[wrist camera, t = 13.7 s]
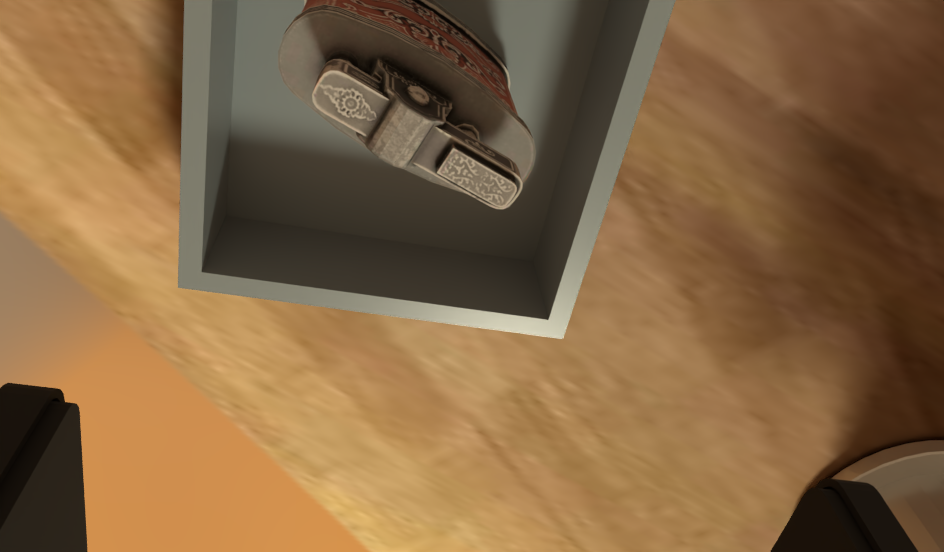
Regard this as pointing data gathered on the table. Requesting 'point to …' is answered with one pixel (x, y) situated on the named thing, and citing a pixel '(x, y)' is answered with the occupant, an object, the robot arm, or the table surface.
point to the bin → (397, 190)
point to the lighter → (412, 92)
